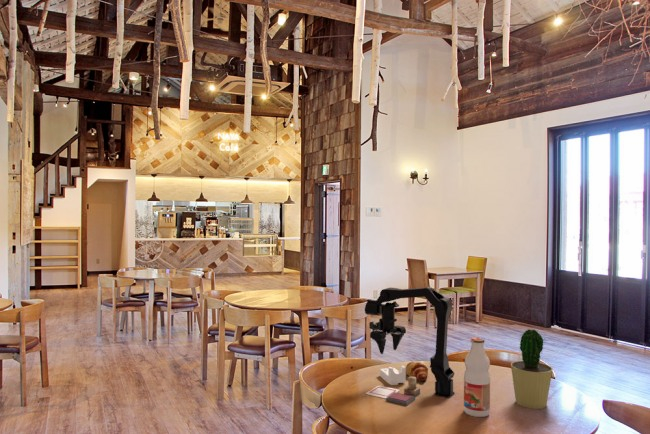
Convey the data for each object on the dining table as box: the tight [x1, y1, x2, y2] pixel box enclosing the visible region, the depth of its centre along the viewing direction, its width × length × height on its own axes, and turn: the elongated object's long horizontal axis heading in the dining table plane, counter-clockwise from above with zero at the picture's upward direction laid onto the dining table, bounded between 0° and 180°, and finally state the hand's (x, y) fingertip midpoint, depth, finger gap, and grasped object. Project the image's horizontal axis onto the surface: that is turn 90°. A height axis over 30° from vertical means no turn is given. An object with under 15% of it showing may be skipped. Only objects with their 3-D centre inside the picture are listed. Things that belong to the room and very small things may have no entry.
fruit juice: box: [463, 336, 491, 418], centre depth 189 cm, size 9×9×28 cm
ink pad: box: [385, 392, 416, 407], centre depth 201 cm, size 9×8×2 cm
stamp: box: [403, 376, 421, 398], centre depth 208 cm, size 5×5×7 cm
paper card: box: [365, 385, 401, 400], centre depth 210 cm, size 10×12×1 cm
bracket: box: [379, 365, 407, 386], centre depth 226 cm, size 13×7×8 cm, turn 15°
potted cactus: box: [510, 328, 553, 410], centre depth 199 cm, size 15×15×30 cm
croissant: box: [405, 361, 429, 382], centre depth 232 cm, size 21×10×8 cm, turn 9°
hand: (388, 351), depth 222 cm, fingers open, 9 cm apart
